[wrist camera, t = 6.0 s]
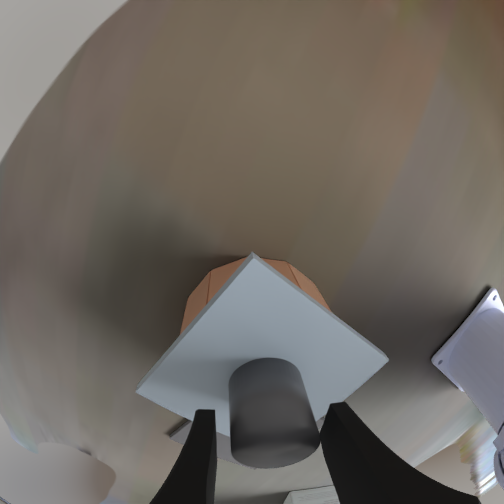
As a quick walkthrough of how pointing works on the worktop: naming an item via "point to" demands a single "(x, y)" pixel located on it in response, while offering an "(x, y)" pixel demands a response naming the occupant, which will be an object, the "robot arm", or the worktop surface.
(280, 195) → the worktop surface
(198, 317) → the lid
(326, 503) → the small box
